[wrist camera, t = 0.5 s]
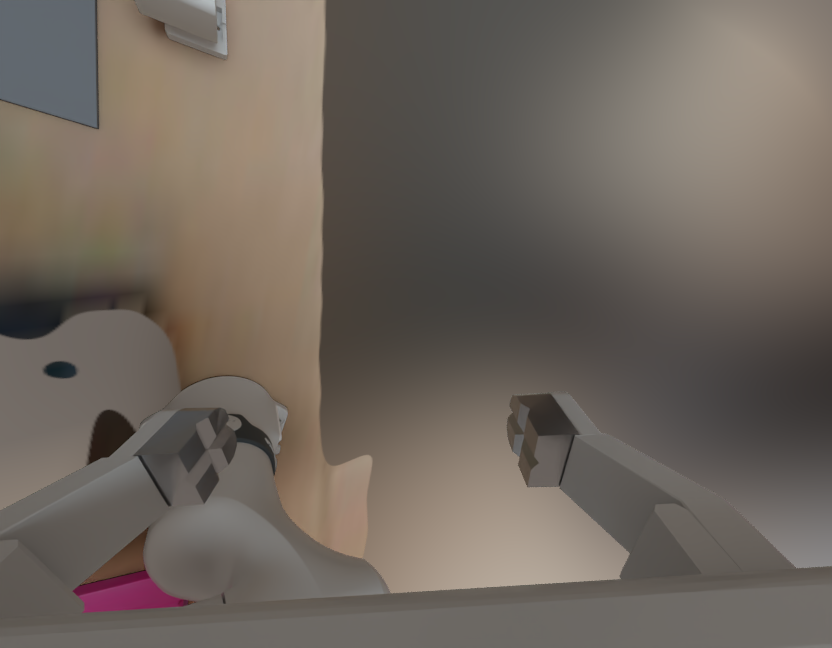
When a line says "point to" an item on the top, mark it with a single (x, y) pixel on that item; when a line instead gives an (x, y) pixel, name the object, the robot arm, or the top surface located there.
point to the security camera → (191, 22)
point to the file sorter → (125, 594)
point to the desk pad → (50, 57)
